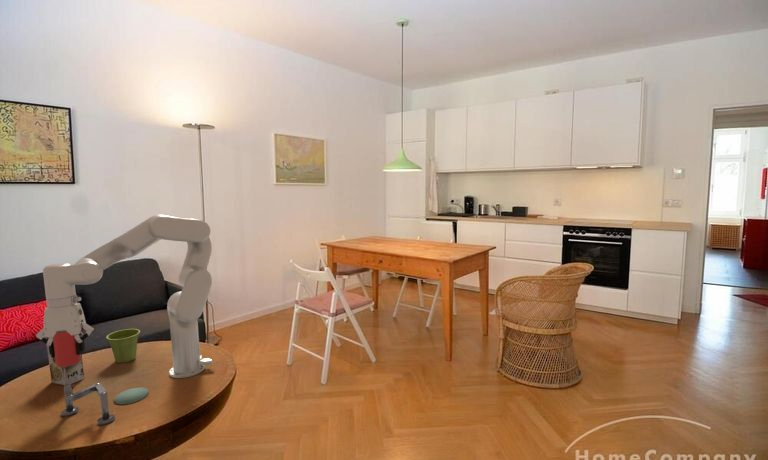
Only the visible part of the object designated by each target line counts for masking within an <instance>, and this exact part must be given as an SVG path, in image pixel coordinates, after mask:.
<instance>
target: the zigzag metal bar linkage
mask: <svg viewBox="0 0 768 460" xmlns="http://www.w3.org/2000/svg"><path fill="white" fill-rule="evenodd" d="M63 392H64V401H65V402H64V403H65V409H63V410H62V411H61V413H60V414H61V416H62V417H70V416H73V415H75V414H77V413H78V412H80V408H79V407H80V406H76V405H75V406H74V402H76V401H77V400H79V399H81V398H84V397H86V396H88V395H90V394H92V393H95V392H96V394H97V395H98V396H99V398H100V407H101V408H100V409H101V417H99V418H98V419H97V420H96V421H97V425H98V426H105V425H108V424H110V423H113V422H114V421H115V419H116V416H115V415H114V414H112V413H111V414H110V408H109V407H110V406H109V397H108V391H107V390H106V389H105V387H104V385H102V383H101V382H97V383H94V384H92V385H89V386H87V387H85V388H82V389H80V390H78V391H76V392H73V389H72V384H67V385H63Z"/></svg>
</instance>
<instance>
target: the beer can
mask: <svg viewBox="0 0 768 460" xmlns="http://www.w3.org/2000/svg"><path fill="white" fill-rule="evenodd" d="M76 343H78V342H77V340H76V339H75V337H74V336H71V335H70V334H69V333H68V332H67V331H56V334H55V335H54V337H53V345H54V353H55V361H56V366H58V367H68V366H72V365H75V364H77V363H79V362H80V361H81V354H80V355H77V349H76Z"/></svg>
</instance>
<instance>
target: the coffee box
mask: <svg viewBox="0 0 768 460" xmlns="http://www.w3.org/2000/svg"><path fill="white" fill-rule="evenodd" d="M46 349H47V350H46V351H47V357H48V364H49V372H50V379H51V380H50V381H51V384H52V383H53V384H57V385H62V386H65V385H67V384H71V385H73V384H74V383H77V382H79V381H82V380H84V379H85V372H84V364H83V363H84V362H83V353H81V361H80V362H79V363H77V364H75V365H72V366H68V367H58V366H56V361H55V357H54V358H51V355H50V353H49V346H47V345H46Z"/></svg>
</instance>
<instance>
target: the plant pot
mask: <svg viewBox="0 0 768 460" xmlns="http://www.w3.org/2000/svg"><path fill="white" fill-rule="evenodd" d="M140 333H141V330H140V329H137V328H126V329H121V330H116V331H113V332H111V333H108V334H107V335H106V337H105V338H106V339H107V340H108V343H109V344H110V347H111V348H110V349H111V351H112V354H113V357H114V359H115V362H116V363H119V364H120V363H128V362H131V361H133V360H134V359H135V358H136V357H137V350H138V348H137V347H138V341H139V340H138V339H139V336H140Z"/></svg>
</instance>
